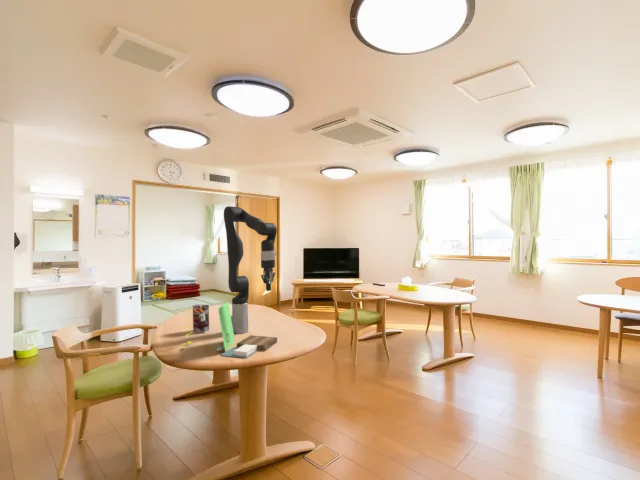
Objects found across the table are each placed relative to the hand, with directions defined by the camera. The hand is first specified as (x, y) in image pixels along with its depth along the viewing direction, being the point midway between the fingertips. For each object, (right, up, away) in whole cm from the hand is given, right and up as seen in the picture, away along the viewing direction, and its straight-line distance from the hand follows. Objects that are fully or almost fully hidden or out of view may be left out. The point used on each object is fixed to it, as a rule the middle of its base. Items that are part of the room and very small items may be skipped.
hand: (268, 290), depth 182 cm
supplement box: (-44, -28, +19) cm, 55 cm away
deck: (-4, -27, -9) cm, 29 cm away
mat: (-11, -27, -20) cm, 36 cm away
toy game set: (-31, -28, -10) cm, 43 cm away
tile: (-8, -27, -20) cm, 35 cm away
